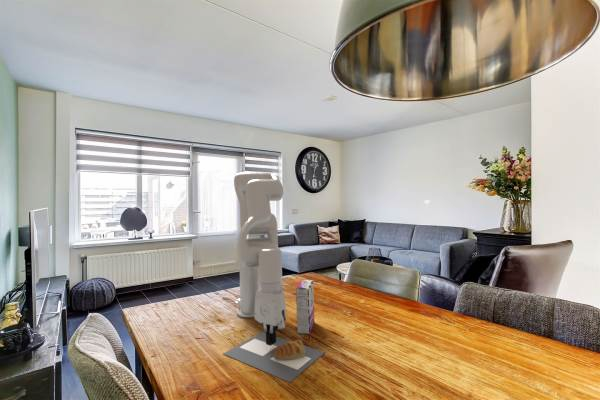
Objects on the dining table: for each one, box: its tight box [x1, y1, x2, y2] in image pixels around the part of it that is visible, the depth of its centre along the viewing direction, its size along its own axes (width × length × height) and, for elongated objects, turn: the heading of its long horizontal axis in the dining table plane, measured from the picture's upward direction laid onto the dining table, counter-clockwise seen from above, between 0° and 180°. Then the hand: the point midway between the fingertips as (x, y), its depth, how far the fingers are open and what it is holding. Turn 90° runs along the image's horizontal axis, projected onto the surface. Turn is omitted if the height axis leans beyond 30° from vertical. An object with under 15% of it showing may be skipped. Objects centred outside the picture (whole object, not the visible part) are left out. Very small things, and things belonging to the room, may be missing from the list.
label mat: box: [222, 331, 325, 384], centre depth 90 cm, size 26×18×1 cm
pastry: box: [273, 339, 305, 360], centre depth 88 cm, size 9×7×4 cm
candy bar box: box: [295, 279, 315, 335], centre depth 109 cm, size 11×5×16 cm, turn 168°
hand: (271, 343), depth 93 cm, fingers closed
